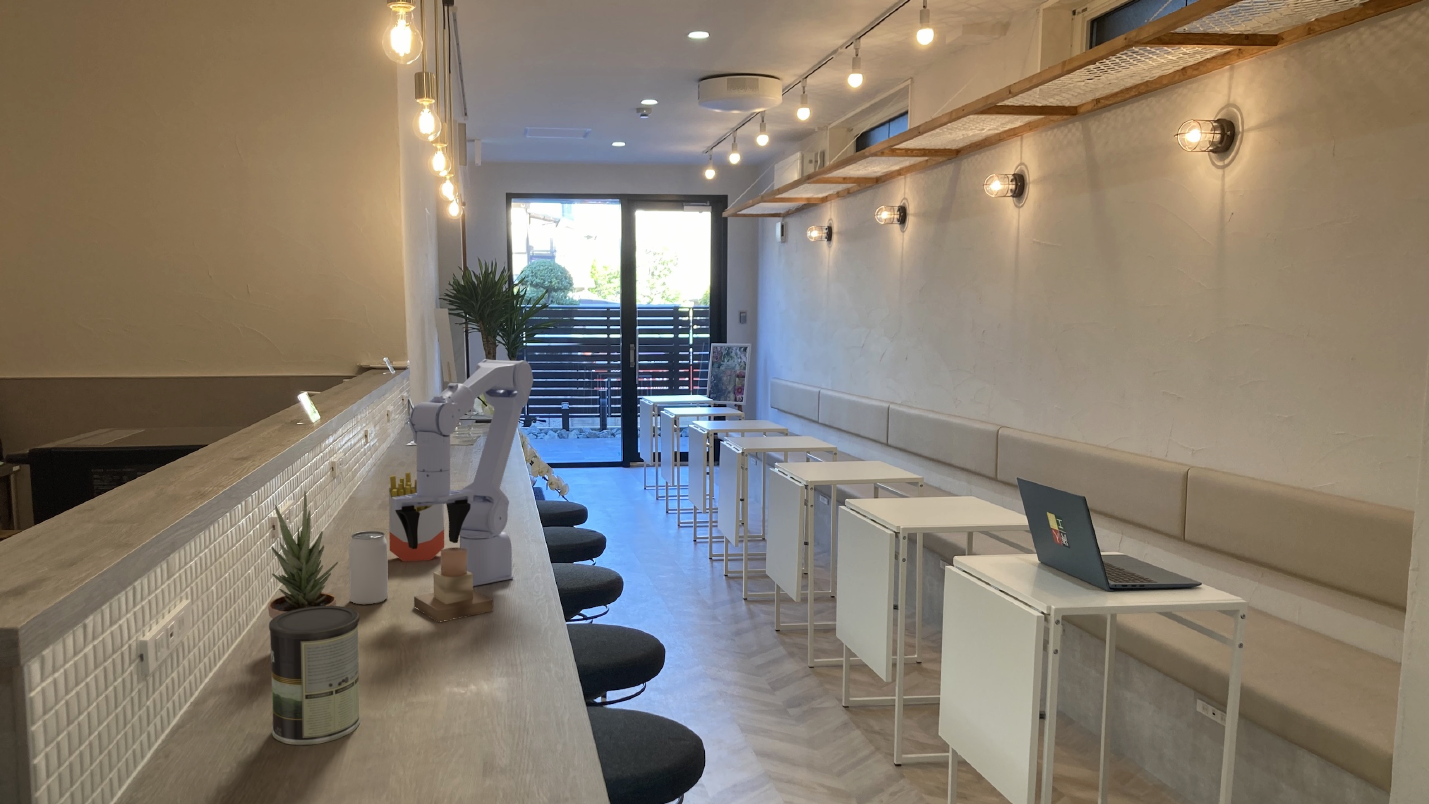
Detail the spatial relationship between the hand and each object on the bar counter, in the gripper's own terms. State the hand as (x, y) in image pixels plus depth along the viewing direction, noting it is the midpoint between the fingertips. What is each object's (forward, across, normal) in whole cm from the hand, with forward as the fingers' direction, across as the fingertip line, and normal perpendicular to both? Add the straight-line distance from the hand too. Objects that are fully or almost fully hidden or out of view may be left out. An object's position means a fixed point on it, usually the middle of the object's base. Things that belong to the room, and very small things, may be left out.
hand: (433, 544), depth 169 cm
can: (+11, -9, +8) cm, 16 cm away
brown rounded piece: (+4, +1, -6) cm, 7 cm away
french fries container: (+10, +10, +30) cm, 33 cm away
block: (+8, +1, -6) cm, 10 cm away
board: (+10, +1, -6) cm, 12 cm away
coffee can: (+11, -33, -39) cm, 53 cm away
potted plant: (+11, -25, -9) cm, 29 cm away
